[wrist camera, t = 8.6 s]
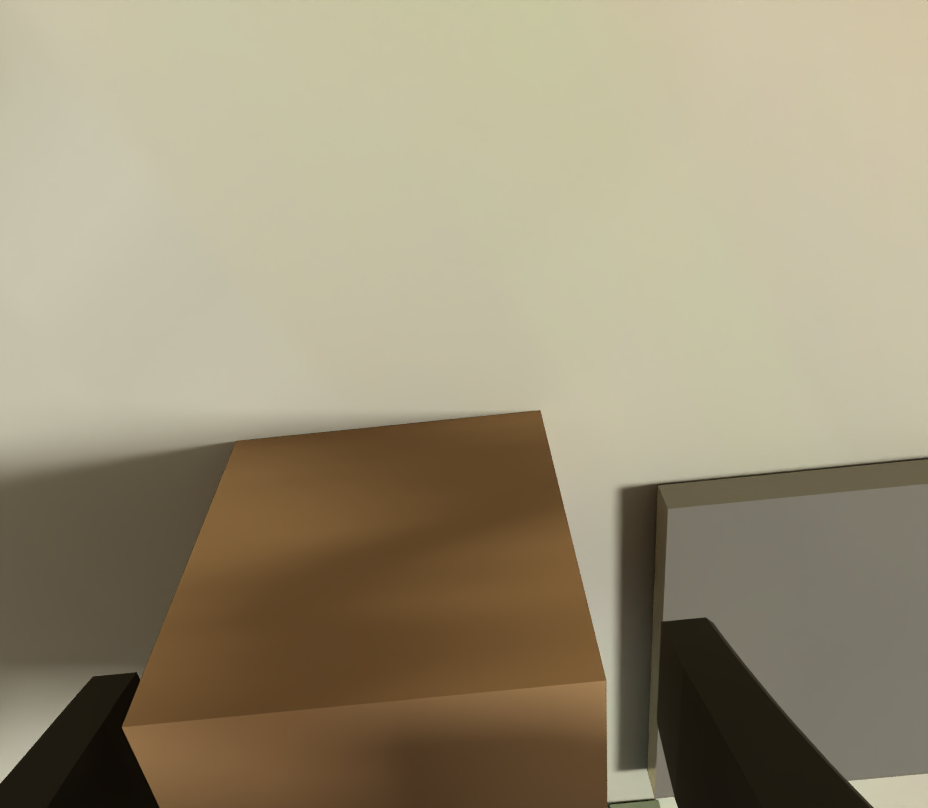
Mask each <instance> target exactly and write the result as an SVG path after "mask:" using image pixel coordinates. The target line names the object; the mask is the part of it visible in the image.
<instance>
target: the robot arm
mask: <svg viewBox="0 0 928 808" xmlns="http://www.w3.org/2000/svg"><path fill="white" fill-rule="evenodd" d="M139 683H140V679H139V676H138V674H137V672H136V673H125V674H115V675H105V676H94V677H92V678H91V679H90V681H89V682H88V683H87V684H86V685H85V686H84V687H83V689H82V690H81V691H80V692H79V693H78V694H77V695H76V697H75V698H74V699H73V700H72V701H71V702H70V703H69V705H68V706H67V707H66V708H65V709H64V710H63V712H62V713H61V714H60V715H59V716H58V717H57V719H56V720H55V721H54V722H53V723H52V724H51V725H50V727H49V728H48V729H47V730H46V731H45V732H44V734H43V735H42V736H41V737H40V738H39V740H38V741H37V742H36V743H35V744H34V745H33V747H32V748H31V749H30V750H29V751H28V752H27V753H26V755H25V756H24V757H23V758H22V759H21V760H20V762H19V763H18V764H17V765H16V766H15V767H14V769H13V770H12V771H11V772H10V773H9V774H8V776H7V777H6V778H5V779H4V780H3V781H2V782H1V783H0V808H160V807H159V805H158V803H157V801H156V799H155V797H154V794H153V792H152V790H151V788H150V786H149V784H148V782H147V780H146V778H145V775H144V773H143V771H142V769H141V767H140V765H139V763H138V761H137V758H136V756H135V754H134V752H133V750H132V748H131V746H130V744H129V742H128V739H127V737H126V735H125V733H124V731H123V729H122V725H123V723H124V720H125V718H126V715H127V713H128V710H129V708H130V705H131V703H132V700H133V698H134V695H135V693H136V690H137V688H138V685H139ZM657 726H658V730H659V734H660V739H661V743H662V747H663V751H664V756H665V760H666V764H667V768H668V772H669V776H670V781H671V785H672V789H673V793H674V797H675V800H676V803H677V806H678V808H873V807H872V806H871V805H870V804H869V803H868V802H867V801H866V800H865V799H864V797H863V796H862V795H861V794H860V793H859V792H858V791H857V790H856V789H855V788H854V787H853V786H852V785H851V784H850V783H849V782H848V781H847V780H846V779H845V778H844V777H843V776H842V775H841V774H840V773H839V771H838V770H837V769H836V768H835V767H834V766H833V765H832V764H831V763H830V762H829V761H828V760H827V759H826V757H825V756H824V755H823V754H822V753H821V752H820V751H819V750H818V749H817V747H816V746H815V745H814V744H813V743H812V742H811V741H810V740H809V739H808V738H807V736H806V735H805V734H804V733H803V732H802V731H801V730H800V729H799V728H798V726H797V725H796V724H795V723H794V722H793V721H792V720H791V719H790V717H789V716H788V715H787V714H786V713H785V712H784V710H783V709H782V708H781V707H780V706H779V705H778V703H777V702H776V701H775V700H774V699H773V698H772V696H771V695H770V694H769V693H768V692H767V690H766V689H765V688H764V687H763V686H762V684H761V683H760V682H759V681H758V680H757V678H756V677H755V676H754V675H753V673H752V672H751V671H750V670H749V668H748V667H747V666H746V665H745V663H744V662H743V661H742V660H741V658H740V657H739V656H738V655H737V653H736V652H735V651H734V650H733V648H732V647H731V646H730V644H729V643H728V642H727V640H726V639H725V638H724V637H723V635H722V634H721V633H720V631H719V630H718V629H717V627H716V626H715V624H714V623H713V622H711V621H710V620H709V619H708V618H706V617H704V618H694V619H683V620H673V621H663V622H661V636H660V658H659V680H658V702H657Z"/></svg>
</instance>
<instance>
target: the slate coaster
mask: <svg viewBox="0 0 928 808" xmlns="http://www.w3.org/2000/svg"><path fill="white" fill-rule="evenodd" d="M704 617H706V618H708V619H709V620H710V621H711V622H713V623H714V624H715V626H716V627H717V629H718V630H719V631H720V633H721V634H722V635H723V637H724V638H725V639H726V640H727V642H728V643H729V644H730V646H731V647H732V648H733V650H734V651H735V652H736V653H737V655H738V656H739V657H740V658H741V660H742V661H743V662H744V663H745V665H746V666H747V667H748V668H749V670H750V671H751V672H752V673H753V675H754V676H755V677H756V678H757V680H758V681H759V682H760V683H761V684H762V686H763V687H764V688H765V689H766V690H767V692H768V693H769V694H770V695H771V696H772V698H773V699H774V700H775V701H776V702H777V703H778V705H779V706H780V707H781V708H782V709H783V710H784V712H785V713H786V714H787V715H788V716H789V717H790V719H791V720H792V721H793V722H794V723H795V724H796V725H797V726H798V728H799V729H800V730H801V731H802V732H803V733H804V734H805V735H806V736H807V738H808V739H809V740H810V741H811V742H812V743H813V744H814V745H815V746H816V747H817V749H818V750H819V751H820V752H821V753H822V754H823V755H824V756H825V757H826V759H827V760H828V761H829V762H830V763H831V764H832V765H833V766H834V767H835V768H836V769H837V770H838V771H839V773H840V774H841V775H842V776H843V777H844V778H845V779H846V780H847V781H851V780H862V779H873V778H883V777H894V776H905V775H916V774H927V773H928V459H924V460H914V461H903V462H893V463H883V464H872V465H862V466H852V467H842V468H831V469H821V470H811V471H800V472H790V473H780V474H770V475H759V476H749V477H739V478H728V479H718V480H708V481H698V482H687V483H677V484H667V485H658V496H657V523H656V550H655V577H654V604H653V631H652V658H651V685H650V712H649V739H648V765H647V771H648V775H649V779H650V782H651V786H652V790H653V794H654V797H655V798H666V797H674V793H673V789H672V785H671V781H670V776H669V772H668V768H667V764H666V760H665V756H664V751H663V747H662V743H661V739H660V734H659V730H658V726H657V702H658V680H659V658H660V636H661V622H663V621H673V620H683V619H694V618H704Z"/></svg>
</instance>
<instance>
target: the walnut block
mask: <svg viewBox="0 0 928 808" xmlns="http://www.w3.org/2000/svg"><path fill="white" fill-rule="evenodd" d="M122 729H123V731H124V733H125V735H126V737H127V739H128V742H129V744H130V746H131V748H132V750H133V752H134V754H135V756H136V758H137V761H138V763H139V765H140V767H141V769H142V771H143V773H144V775H145V778H146V780H147V782H148V784H149V786H150V788H151V790H152V792H153V794H154V797H155V799H156V801H157V803H158V805H159V807H160V808H607V717H606V677H605V673H604V669H603V665H602V661H601V657H600V653H599V649H598V645H597V641H596V637H595V632H594V628H593V624H592V620H591V616H590V612H589V608H588V604H587V600H586V596H585V591H584V587H583V583H582V579H581V575H580V571H579V567H578V563H577V559H576V555H575V551H574V546H573V542H572V538H571V534H570V530H569V526H568V522H567V518H566V514H565V510H564V505H563V501H562V497H561V493H560V489H559V485H558V481H557V477H556V473H555V469H554V465H553V460H552V456H551V452H550V448H549V444H548V440H547V436H546V432H545V428H544V424H543V419H542V415H541V411H540V410H539V411H529V412H519V413H509V414H499V415H489V416H479V417H469V418H459V419H449V420H440V421H430V422H420V423H410V424H400V425H390V426H380V427H370V428H360V429H350V430H340V431H330V432H321V433H311V434H301V435H291V436H281V437H271V438H261V439H251V440H241V441H236V443H235V445H234V448H233V450H232V453H231V455H230V458H229V460H228V463H227V465H226V468H225V470H224V473H223V475H222V478H221V480H220V483H219V485H218V488H217V490H216V493H215V495H214V498H213V500H212V503H211V505H210V508H209V510H208V513H207V515H206V518H205V520H204V523H203V525H202V528H201V530H200V533H199V535H198V538H197V540H196V543H195V545H194V548H193V550H192V553H191V555H190V558H189V560H188V563H187V565H186V568H185V570H184V573H183V575H182V578H181V580H180V583H179V585H178V588H177V590H176V593H175V595H174V598H173V600H172V603H171V605H170V608H169V610H168V613H167V615H166V618H165V620H164V623H163V625H162V628H161V630H160V633H159V635H158V638H157V640H156V643H155V645H154V648H153V650H152V653H151V655H150V658H149V660H148V663H147V665H146V668H145V670H144V673H143V675H142V678H141V680H140V683H139V685H138V688H137V690H136V693H135V695H134V698H133V700H132V703H131V705H130V708H129V710H128V713H127V715H126V718H125V720H124V723H123V725H122Z"/></svg>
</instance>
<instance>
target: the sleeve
mask: <svg viewBox="0 0 928 808" xmlns="http://www.w3.org/2000/svg"><path fill="white" fill-rule="evenodd" d="M610 808H660V805H659V801H658V800H654V801H644V802H633V803H622V804H611V805H610Z"/></svg>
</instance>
